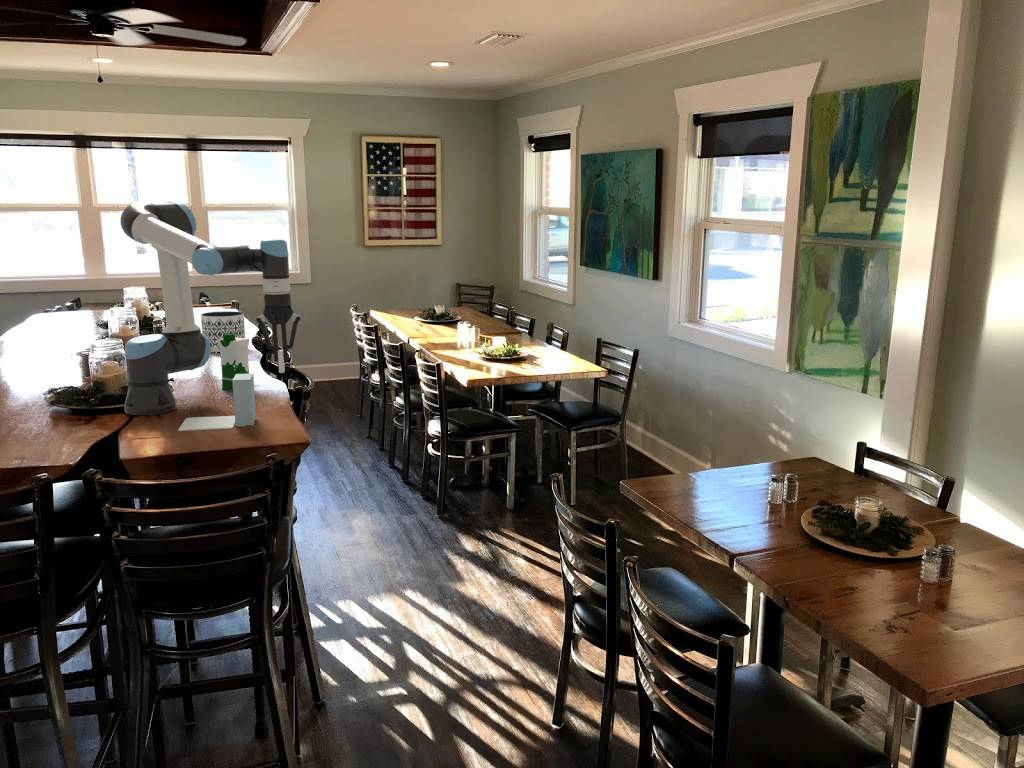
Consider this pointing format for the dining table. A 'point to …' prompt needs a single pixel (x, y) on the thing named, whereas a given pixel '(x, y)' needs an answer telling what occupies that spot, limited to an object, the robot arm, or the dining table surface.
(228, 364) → the milk carton
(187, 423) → the mat
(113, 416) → the dining table surface
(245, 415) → the slab
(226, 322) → the planter
